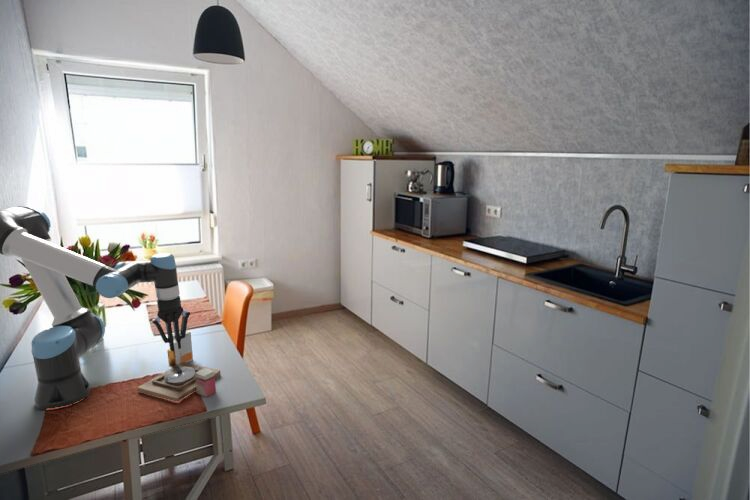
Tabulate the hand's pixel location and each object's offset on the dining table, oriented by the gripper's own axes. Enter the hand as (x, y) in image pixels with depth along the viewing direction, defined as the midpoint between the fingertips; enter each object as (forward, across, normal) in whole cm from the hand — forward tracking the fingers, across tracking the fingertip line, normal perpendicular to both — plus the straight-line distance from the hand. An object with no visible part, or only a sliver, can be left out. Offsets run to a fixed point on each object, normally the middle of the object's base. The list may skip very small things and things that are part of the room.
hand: (176, 357), depth 160 cm
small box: (+7, -4, +19) cm, 21 cm away
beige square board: (+7, +2, +8) cm, 10 cm away
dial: (+4, +2, +6) cm, 7 cm away
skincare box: (+7, -4, -9) cm, 12 cm away
